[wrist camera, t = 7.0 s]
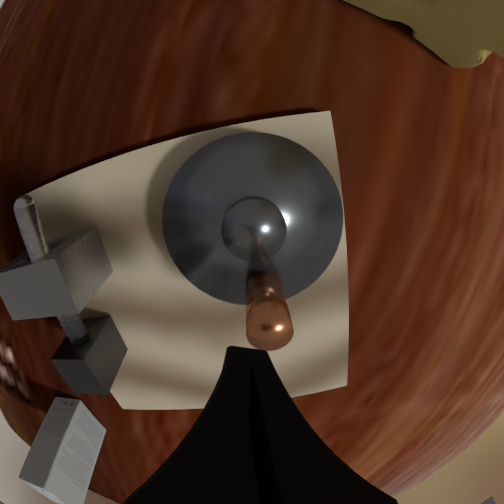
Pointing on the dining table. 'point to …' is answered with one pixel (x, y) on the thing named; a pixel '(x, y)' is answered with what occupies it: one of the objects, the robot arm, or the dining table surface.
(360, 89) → the dining table surface
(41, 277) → the block
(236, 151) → the handwheel
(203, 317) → the board
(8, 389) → the dining table surface
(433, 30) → the cheese
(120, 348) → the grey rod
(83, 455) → the skincare box
